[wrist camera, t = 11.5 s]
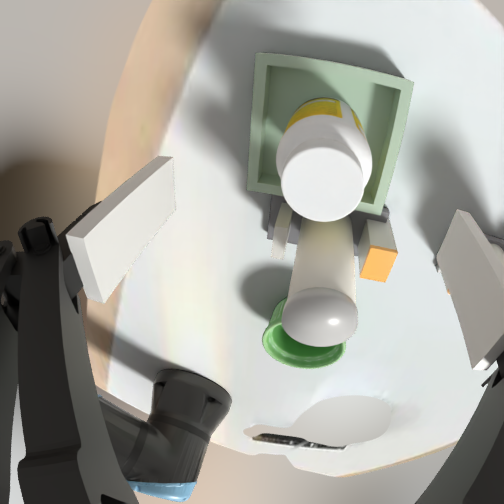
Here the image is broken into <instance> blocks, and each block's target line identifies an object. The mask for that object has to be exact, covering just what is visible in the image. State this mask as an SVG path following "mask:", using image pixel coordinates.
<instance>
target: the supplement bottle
mask: <svg viewBox="0 0 504 504" xmlns="http://www.w3.org/2000/svg"><path fill="white" fill-rule="evenodd" d="M276 166H277V170H278V174H279V177H280V179H281V189H282V193H283V196H284V198H285V200H286V201H287V203H288V204H289V206H290V207H291V208H292V209H293V210H294V211H296V212H297V213H298V214H300V215H301V216H303V217H305V218H308V219H310V220H314V221H320V222H328V221H335V220H338V219H341V218H343V217H345V216H347V215H348V214H350V213H351V212H352V211H353V210H354V209H355V208H356V207H357V206H358V204H359V203H360V201H361V199H362V196H363V193H364V188H365V186H366V184H367V182H368V180H369V178H370V175H371V171H372V155H371V151H370V147H369V144H368V142H367V139H366V136H365V133H364V130H363V128H362V125H361V122H360V120H359V118H358V116H357V114H356V113H355V112H354V110H353V109H352V108H351V107H350V106H349V105H347V104H346V103H344V102H343V101H341V100H339V99H336V98H332V97H316V98H312V99H310V100H308V101H306V102H304V103H303V104H301V105H300V106H299V107H298V108H297V109H296V111H295V112H294V114H293V115H292V117H291V119H290V121H289V123H288V125H287V127H286V130H285V132H284V134H283V136H282V138H281V140H280V143H279V145H278V149H277V154H276Z"/></svg>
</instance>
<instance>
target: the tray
mask: <svg viewBox="0 0 504 504" xmlns="http://www.w3.org/2000/svg"><path fill="white" fill-rule="evenodd" d="M413 86H414V82H412V81H410V80H408V79H405V78H402V77H398V76H395V75H391V74H387V73H384V72H380V71H376V70H372V69H367V68H363V67H358V66H354V65H349V64H344V63H339V62H333V61H328V60H322V59H315V58H309V57H301V56H294V55H285V54H275V53H264V52H262V53H256V54H255V68H254V83H253V97H252V112H251V127H250V143H249V158H248V174H247V190H248V191H254V192H261V193H267V194H273V195H278V196H283V193H282V189H281V179H280V177H279V174H278V170H277V166H276V154H277V149H278V145H279V143H280V140H281V138H282V136H283V134H284V132H285V130H286V127H287V125H288V123H289V121H290V119H291V117H292V115H293V114H294V112H295V111H296V109H297V108H298V107H299V106H300V105H301V104H303V103H304V102H306V101H308V100H310V99H312V98H316V97H332V98H336V99H339V100H341V101H343V102H344V103H346V104H347V105H349V106H350V107H351V108H352V109H353V110H354V112H355V113H356V114H357V116H358V118H359V120H360V122H361V125H362V128H363V130H364V133H365V136H366V139H367V142H368V144H369V147H370V151H371V155H372V171H371V175H370V178H369V180H368V182H367V184H366V186H365V188H364V193H363V196H362V199H361V201H360V203H359V204H358V206H357V207H356V208H355V209H354V210H357V211H362V212H366V213H371V214H376V215H381V212H382V209H383V206H384V203H385V199H386V196H387V193H388V189H389V186H390V182H391V179H392V175H393V172H394V168H395V164H396V161H397V157H398V153H399V149H400V145H401V141H402V137H403V133H404V129H405V124H406V120H407V115H408V111H409V106H410V101H411V96H412V91H413Z"/></svg>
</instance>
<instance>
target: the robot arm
mask: <svg viewBox="0 0 504 504" xmlns="http://www.w3.org/2000/svg"><path fill="white" fill-rule="evenodd" d="M175 210H176V202H175V186H174V166H173V157H165V156H158V157H156V158H155V159H154V160H152V161H151V162H150V163H148V164H147V165H146V166H145V167H143V168H142V169H141V170H139V171H138V172H137V173H136V174H134V175H133V176H132V177H131V178H129V179H128V180H127V181H126V182H124V183H123V184H122V185H121V186H120V187H118V188H117V189H116V190H115V191H114V192H112V193H111V194H110V195H109V196H108V197H107V198H105V199H104V200H103V201H100V202H98V203H96V204H94V205H92V206H91V207H89V208H88V209H87V210H86V211H85V212H83V213H82V215H80V216H79V217H78V218H77V219H76V221H73V222H72V223H71V224H70V225H69V226H68V227H67V228H66V229H65V230H64V231H63V232H62V233H61V234H59V235H58V236H56V232H55V229H54V226H53V222H52V219H51V218H49V217H38V218H35V219H33V220H30V221H29V222H27V223H25V224H24V225H23V226H22V227H21V228H20V229H19V231H18V235H19V238H20V240H21V244H22V246H23V249H24V251H25V252H16V251H15V249H14V247H13V244H12V242H11V241H1V242H0V504H9V495H10V463H11V461H10V460H11V439H12V425H13V416H14V407H15V399H16V392H17V386H18V384H19V399H20V409H21V418H22V426H23V434H24V441H25V446H26V456H25V458H24V459H22V460H21V461H20V462H19V464H18V468H17V471H18V480H19V484H20V489H21V492H22V497H23V500H24V504H139V502H138V500H137V498H136V496H135V494H134V492H133V490H134V491H137V492H141V493H144V494H147V495H151V496H155V497H158V498H162V499H167V500H171V501H176V502H183V501H186V500H188V499H189V497H190V496H191V493H192V491H193V489H194V486H195V484H196V483H197V478H198V475H199V472H200V469H201V465H202V462H203V459H204V456H205V453H206V450H207V446H208V444H209V441H210V438H211V435H212V433H213V432H214V431H215V430H216V428H217V427H218V426H219V424H220V423H221V422H222V420H223V419H224V418H225V416H226V415H227V414H228V412H229V409H230V406H231V403H232V399H231V397H230V395H229V394H228V393H227V392H226V391H225V390H224V389H223V388H221V387H220V386H219V385H217V384H215V383H214V382H212V381H210V380H208V379H206V378H203V377H201V376H198V375H196V374H193V373H189V372H185V371H181V370H174V369H167V370H162V371H160V372H159V373H158V374H157V376H156V378H155V381H154V383H153V392H152V406H151V413H150V415H149V418H148V420H147V422H145V421H143V420H141V419H139V418H137V417H135V416H134V415H132V414H130V413H128V412H126V411H125V410H123V409H121V408H119V407H117V406H116V405H114V404H112V403H111V402H109V401H108V400H106V399H104V398H103V397H102V396H101V395H98V394H97V391H96V387H95V382H94V378H93V374H92V369H91V364H90V359H89V354H88V349H87V343H86V337H85V331H84V325H83V319H82V311H81V303H80V299H79V296H78V294H77V293H78V292H79V291H80V289H81V288H82V287H83V288H84V290H85V293H86V296H87V298H88V299H91V300H94V301H97V302H100V303H103V304H104V303H105V302H106V300H107V299H108V298H109V296H110V295H111V293H112V292H113V291H114V289H115V288H116V286H117V285H118V284H119V282H120V281H121V280H122V278H123V277H124V275H125V274H126V273H127V271H128V270H129V269H130V267H131V266H132V265H133V263H134V262H135V261H136V259H137V258H138V257H139V255H140V254H141V253H142V251H143V250H144V249H145V248H146V246H147V245H148V244H149V242H150V241H151V240H152V239H153V237H154V236H155V235H156V234H157V232H158V231H159V230H160V228H161V227H162V226H163V225H164V223H165V222H166V221H167V220H168V219H169V217H170V216H171V215H172V214H173V212H174V211H175ZM436 257H437V260H438V262H439V265H440V268H441V270H442V273H443V275H444V278H445V281H446V283H447V286H448V289H449V292H450V295H451V298H452V301H453V304H454V307H455V310H456V313H457V316H458V319H459V322H460V326H461V329H462V332H463V336H464V339H465V343H466V347H467V350H468V354H469V358H470V362H471V367H472V370H487V369H488V368H489V367H490V366H491V365H492V364H493V363H494V362H495V361H496V360H497V364H498V368H497V369H496V370H495V371H494V373H493V374H492V375H491V376H490V377H489V378H488V379H487V380H486V381H485V382H484V383H483V384H482V385H481V386H482V387H484V386H485V385H486V384H488V386H487V388H486V390H485V392H484V394H483V396H482V398H481V401H480V403H479V405H478V407H477V409H476V411H475V412H474V414H473V416H472V418H471V420H470V422H469V424H468V425H467V427H466V429H465V431H464V433H463V434H462V436H461V438H460V439H459V441H458V443H457V444H456V446H455V448H454V449H453V451H452V452H451V454H450V456H449V457H448V459H447V460H446V462H445V463H444V465H443V466H442V468H441V469H440V471H439V472H438V473H437V475H436V476H435V478H434V479H433V481H432V482H431V483H430V485H429V486H428V487H427V489H426V490H425V491H424V493H423V494H422V495H421V496H420V498H419V499H418V500H417V502H416V503H415V504H504V266H503V265H502V263H501V261H500V260H499V258H498V256H497V254H496V253H495V251H494V249H493V248H492V246H491V245H490V243H489V241H488V240H487V238H486V237H485V235H484V234H483V232H482V231H481V229H480V227H479V226H478V224H477V223H476V222H475V220H474V219H473V217H472V216H471V214H470V213H469V212H465V211H462V210H459V209H457V210H456V212H455V215H454V217H453V220H452V222H451V224H450V227H449V229H448V232H447V234H446V236H445V238H444V241H443V243H442V245H441V247H440V250H439V252H438V254H437V256H436ZM2 295H3V297H4V299H5V302H4V305H2V304H1V296H2Z"/></svg>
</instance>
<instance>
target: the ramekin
mask: <svg viewBox="0 0 504 504" xmlns="http://www.w3.org/2000/svg"><path fill="white" fill-rule="evenodd" d="M286 301H287V298H285V299H283V300H282V301H281V302H280V303H278V305H277V306H276V307H275V309H274V312H273V314H272V317H271V320H270V322H269V325H268V327H267V328H266V330H265V332H264V334H263V337H262V343H263V346H264V348H265V350H266V352H267V353H268V354H269V355H270V356H271V357H272V358H274V359H275V360H277V361H279V362H281V363H283V364H285V365H288V366H291V367H296V368H303V369H314V368H321V367H325V366H328V365H331V364H333V363H335V362H336V361H338V360H339V359H340V358H341V357H342V356H343V354H344V352H345V348H346V343H345V341H344V342H343V343H340V344H337V345H333V346H327V347H316V346H310V345H306V344H303V343H300V342H298V341H296V340H294V339H293V338H291V337H290V336H289V335H288V334H287V333H286V332H285V330H284V328H283V326H282V321H281V320H282V314H283V309H284V305H285V303H286Z"/></svg>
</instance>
